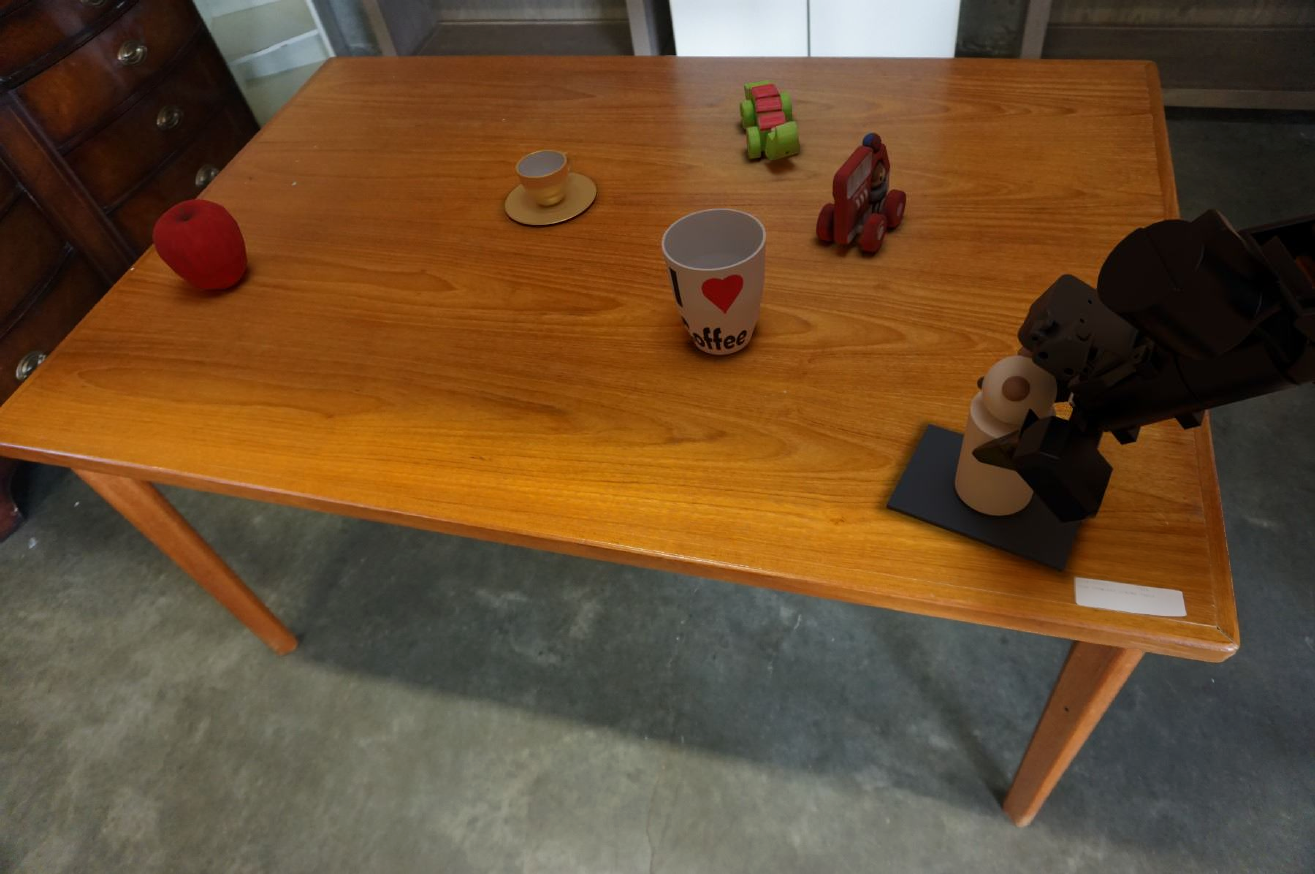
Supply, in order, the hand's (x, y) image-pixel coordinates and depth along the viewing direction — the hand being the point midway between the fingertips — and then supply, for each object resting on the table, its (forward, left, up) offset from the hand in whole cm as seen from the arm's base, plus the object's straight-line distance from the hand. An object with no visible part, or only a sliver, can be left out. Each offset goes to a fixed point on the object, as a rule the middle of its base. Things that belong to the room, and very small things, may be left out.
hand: (988, 427), depth 64 cm
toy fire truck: (+23, -30, -8) cm, 39 cm away
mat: (-1, 0, -8) cm, 8 cm away
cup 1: (+62, -22, -8) cm, 66 cm away
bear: (-1, 0, -7) cm, 7 cm away
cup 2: (+29, -8, -8) cm, 31 cm away
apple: (+92, +8, -8) cm, 92 cm away
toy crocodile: (+42, -45, -8) cm, 62 cm away
